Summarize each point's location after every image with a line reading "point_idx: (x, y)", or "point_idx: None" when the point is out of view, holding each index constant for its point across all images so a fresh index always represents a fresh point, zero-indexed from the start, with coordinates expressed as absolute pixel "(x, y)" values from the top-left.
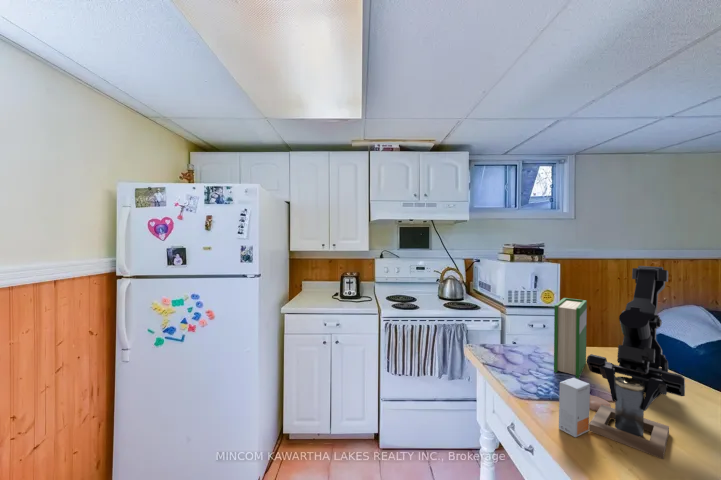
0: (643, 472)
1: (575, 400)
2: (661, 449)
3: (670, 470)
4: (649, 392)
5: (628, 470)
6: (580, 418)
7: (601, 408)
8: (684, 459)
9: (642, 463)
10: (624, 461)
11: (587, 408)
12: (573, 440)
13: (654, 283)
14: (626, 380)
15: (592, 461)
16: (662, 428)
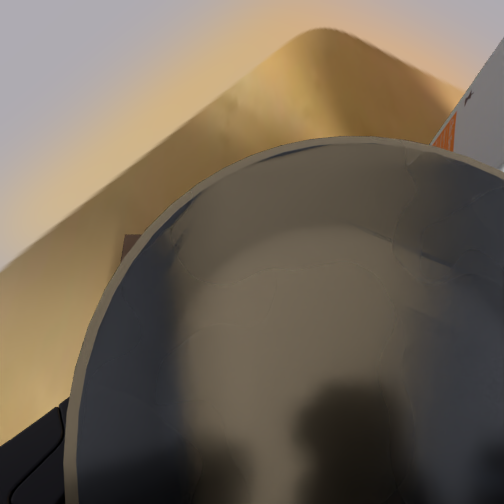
0: (196, 119)
1: None
2: (131, 243)
3: (119, 191)
4: (49, 450)
5: (234, 98)
6: (462, 121)
7: None
8: (57, 321)
9: (202, 166)
10: (252, 135)
11: (486, 153)
12: (418, 136)
13: None
14: (471, 427)
15: (327, 70)
16: None
